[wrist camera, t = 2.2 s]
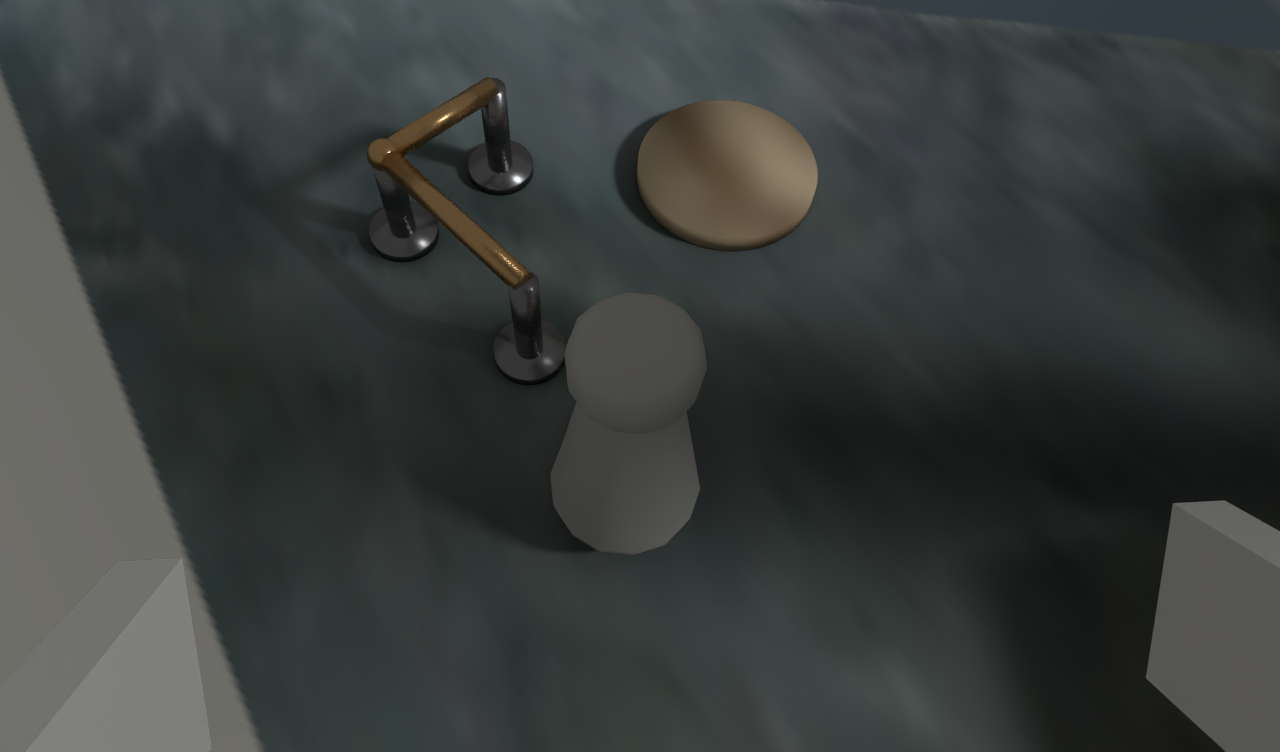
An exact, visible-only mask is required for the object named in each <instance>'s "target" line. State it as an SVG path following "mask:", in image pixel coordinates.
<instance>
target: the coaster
mask: <svg viewBox="0 0 1280 752" xmlns="http://www.w3.org/2000/svg"><path fill="white" fill-rule="evenodd" d="M817 179H818V176H817V166H816V161H815V158H814V155H813V152H812V150H811V149H810V147H809V145H808V143H807V142H806V141H805V139H804V138H803V136H802V135H801V134H800V133H799V132H798V131H797V130H796V129H795V128H794V127H793V126H791V125H790V124H789V123H788V122H787V121H785V120H784V119H782V118H781V117H779V116H777V115H776V114H774V113H772V112H770V111H768V110H765V109H763V108H760V107H758V106H754V105H751V104H747V103H742V102H737V101H727V100H711V101H702V102H697V103H692V104H689V105H686V106H683V107H680V108H678V109H676V110H673V111H671V112H670V113H668V114H667V115H665V116H663V117H662V118H661V119H660V120H658V121H657V122H656V123H655V124H654V125H653V126H652V127H651V128H650V130H649V131H648V133H647V134H646V135H645V137H644V139H643V141H642V143H641V146H640V150H639V154H638V165H637V186H638V190H639V194H640V196H641V199H642V201H643V203H644V205H645V206H646V208H647V210H648V211H649V213H650V214H651V215H652V216H653V217H654V219H655V220H656V221H657V222H658V223H659V224H661V225H662V226H663V227H664V228H665V229H667V230H668V231H669V232H671V233H672V234H674V235H676V236H677V237H679V238H681V239H683V240H685V241H687V242H690V243H692V244H695V245H698V246H701V247H705V248H710V249H715V250H723V251H743V250H751V249H756V248H760V247H764V246H767V245H769V244H772V243H775V242H776V241H778V240H780V239H782V238H784V237H785V236H787V235H788V234H790V233H791V232H792V231H793V230H794V229H795V228H796V227H797V226H799V224H800V223H801V222H802V220H803V219H804V218H805V216H806V214H807V212H808V211H809V208H810V205H811V202H812V199H813V196H814V193H815V190H816V186H817Z"/></svg>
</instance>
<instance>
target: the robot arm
mask: <svg viewBox="0 0 1280 752" xmlns="http://www.w3.org/2000/svg"><path fill="white" fill-rule="evenodd" d="M1146 679H1147V680H1148V681H1149V682H1151V683H1152V684H1153V685H1154V686H1155V687H1156V688H1157V689H1158V690H1159V691H1160V692H1161V693H1162V694H1164V695H1165V696H1166V697H1167V698H1168V699H1169V700H1170V701H1171V702H1172V703H1173V704H1174V705H1176V706H1177V707H1178V708H1179V709H1180V710H1181V711H1182V712H1183V713H1184V714H1185V715H1186V716H1187V717H1189V718H1190V719H1191V720H1192V721H1193V722H1194V723H1195V724H1196V725H1197V726H1198V727H1199V728H1200V729H1202V730H1203V731H1204V732H1205V733H1206V734H1207V735H1208V736H1209V737H1210V738H1211V739H1212V740H1213V741H1215V742H1216V743H1217V744H1218V745H1219V746H1220V747H1221V748H1222V749H1223V750H1224V751H1225V752H1280V531H1278V530H1277V529H1275V528H1273V527H1271V526H1269V525H1268V524H1266V523H1264V522H1262V521H1260V520H1259V519H1257V518H1255V517H1253V516H1252V515H1250V514H1248V513H1246V512H1244V511H1243V510H1241V509H1239V508H1237V507H1235V506H1234V505H1232V504H1230V503H1228V502H1226V501H1225V500H1224V501H1206V502H1188V503H1173V506H1172V512H1171V519H1170V525H1169V532H1168V538H1167V545H1166V551H1165V558H1164V564H1163V571H1162V577H1161V584H1160V590H1159V597H1158V603H1157V609H1156V616H1155V622H1154V629H1153V635H1152V642H1151V648H1150V655H1149V661H1148V668H1147V674H1146ZM211 747H212V746H211V741H210V734H209V727H208V721H207V714H206V708H205V702H204V696H203V689H202V682H201V676H200V669H199V664H198V656H197V650H196V643H195V638H194V631H193V624H192V618H191V612H190V605H189V599H188V592H187V585H186V579H185V573H184V566H183V560H182V558H165V559H149V560H148V559H147V560H129V561H117V562H116V563H115V564H114V565H113V566H112V568H110V570H109V571H108V572H107V573H106V574H105V575H104V576H103V577H102V578H101V579H100V580H99V581H98V582H97V583H96V584H95V586H93V588H92V589H91V590H90V591H89V592H88V593H87V594H86V595H85V596H84V597H83V598H82V599H81V600H80V601H79V602H78V603H77V604H76V605H75V607H74V608H73V609H72V610H71V611H70V612H69V613H68V614H67V615H66V616H65V617H64V618H63V619H62V620H61V621H60V622H59V624H58V625H57V626H56V627H55V628H54V629H53V630H52V631H51V632H50V633H49V634H48V635H47V636H46V637H45V638H44V639H43V640H42V641H41V643H40V644H39V645H38V646H37V647H36V648H35V649H34V650H33V651H32V652H31V653H30V654H29V655H28V656H27V657H26V658H25V660H24V661H23V662H22V663H21V664H20V665H19V666H18V667H17V668H16V669H15V670H14V671H13V672H12V673H11V674H10V675H9V677H8V678H7V679H6V680H5V681H4V682H3V683H2V684H1V685H0V752H210V750H211Z"/></svg>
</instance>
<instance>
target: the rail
mask: <svg viewBox="0 0 1280 752" xmlns="http://www.w3.org/2000/svg"><path fill="white" fill-rule="evenodd" d="M480 108H481V112H482V120H483V127H484V135H485V143H483V144H481V145H480V146H478V147H477V148H476V149H475V150H474V151H473V152H472V153H471V155H470V157H469V160H468V169H469V176H470V179H471V181H472V182H473V184H474V185H475V186H476V187H477V188H479V189H480V190H482V191H484V192H486V193H489V194H493V195H508V194H512V193H515V192H517V191H519V190H521V189H523V188H524V187H525V186H526V185H527V184H528V183H529V182H530V180H531V178H532V175H533V161H532V157H531V155H530V153H529V151H528V150H527V149H526V148H525V147H524V146H522V145H521V144H519V143H517V142H514V141H510V131H509V121H508V110H507V100H506V89H505V84H504V83H503V82H502V81H501V80H499V79H497V78H489V77H486V78H484V79H482V80H481V81H479V82H478V83H476V84H474V85H473V86H471V87H469V88H468V89H466V90H465V91H463V92H461V93H460V94H458V95H456V96H455V97H453V98H452V99H450V100H448V101H447V102H445V103H443V104H442V105H440V106H438V107H437V108H435V109H434V110H432V111H430V112H429V113H427V114H425V115H424V116H422V117H421V118H419V119H417V120H416V121H414V122H412V123H411V124H409V125H408V126H406V127H404V128H403V129H401V130H399V131H398V132H396V133H395V134H393V135H391V136H390V137H388V138H378V139H375V140H374V141H372V142H371V143H370V144H369V146H368V148H367V159H368V162H369V163H370V165H371V166H372V168H373V171H374V175H375V178H376V182H377V185H378V189H379V192H380V196H381V199H382V203H383V206H384V208H382V209H381V210H380V211H378V212H377V213H376V214H375V216H374V217H373V218H372V220H371V222H370V225H369V236H370V239H371V242H372V245H373V247H374V249H375V250H376V251H377V253H378V254H380V255H381V256H382V257H384V258H386V259H389V260H392V261H397V262H407V261H413V260H416V259H419V258H421V257H423V256H425V255H426V254H428V253H429V252H430V251H431V250H432V249H433V248H434V246H435V245H436V243H437V241H438V237H439V229H438V224H437V221H438V222H440V223H441V224H442V225H443V226H444V227H445V228H446V229H447V230H448V231H449V232H450V233H451V234H453V235H454V236H455V237H456V238H457V239H458V240H459V241H460V242H461V243H462V244H463V245H464V246H465V247H467V248H468V249H469V250H470V251H471V252H472V253H473V254H474V255H475V256H476V257H477V258H478V259H480V260H481V261H482V262H483V263H484V264H485V265H486V266H487V267H488V268H489V269H490V270H491V271H493V272H494V273H495V274H496V275H497V276H498V277H499V278H500V279H501V280H502V281H503V282H504V283H505V284H507V285H508V287H509V295H510V303H511V311H512V320H513V321H512V322H510V323H509V324H507V325H506V326H505V327H503V328H502V329H501V330H500V332H499V333H498V334H497V336H496V338H495V341H494V346H493V352H494V359H495V363H496V366H497V368H498V369H499V371H500V372H501V373H502V374H503V375H504V376H505V377H506V378H508V379H509V380H511V381H513V382H516V383H519V384H524V385H534V384H539V383H543V382H545V381H548V380H549V379H551V378H553V377H554V376H555V375H556V374H557V373H558V372H559V371H560V370H561V368H562V367H563V365H564V362H565V350H566V344H565V339H564V337H563V335H562V333H561V332H560V330H559V329H558V328H557V327H556V326H555V325H553V324H552V323H550V322H548V321H546V320H544V319H541V309H540V295H539V281H538V278H537V276H536V275H535V274H534V273H532V272H530V271H528V270H527V269H526V268H525V267H524V266H523V265H522V264H521V263H520V262H519V261H517V260H516V259H515V258H514V257H513V256H512V255H511V254H510V253H509V252H508V251H506V250H505V249H504V248H503V247H502V246H501V245H500V244H499V243H498V242H497V241H495V240H494V239H493V238H492V237H491V236H490V235H489V234H488V233H487V232H486V231H484V230H483V229H482V228H481V227H480V226H479V225H478V224H477V223H476V222H475V221H473V220H472V219H471V218H470V217H469V216H468V215H467V214H466V213H465V212H464V211H462V210H461V209H460V208H459V207H458V206H457V205H456V204H455V203H454V202H453V201H451V200H450V199H449V198H448V197H447V196H446V195H445V194H444V193H443V192H442V191H440V190H439V189H438V188H437V187H436V186H435V185H434V184H433V183H432V182H430V181H429V180H428V179H427V178H426V177H425V176H424V175H423V174H422V173H421V172H419V171H418V170H417V169H416V168H415V167H414V166H413V165H412V164H411V163H410V162H408V161H407V160H406V159H405V158H404V156H406V155H407V154H409V153H410V152H412V151H414V150H415V149H417V148H418V147H420V146H422V145H423V144H425V143H426V142H428V141H430V140H431V139H433V138H434V137H436V136H437V135H439V134H441V133H442V132H444V131H445V130H447V129H449V128H450V127H452V126H453V125H455V124H457V123H458V122H460V121H461V120H463V119H465V118H466V117H468V116H469V115H471V114H472V113H474V112H476V111H477V110H479V109H480ZM408 194H409V195H410V196H411V197H413V198H414V199H415V200H416V201H417V202H418V203H419V204H418V203H414V202H410V200H409V196H408Z"/></svg>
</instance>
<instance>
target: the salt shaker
mask: <svg viewBox="0 0 1280 752" xmlns="http://www.w3.org/2000/svg"><path fill="white" fill-rule="evenodd" d="M565 364H566V374H567V383H568V391H569V392H570V393H571V395H572V396H573V398H574V399H575V400H576V405H575V408H574V411H573V414H572V416H571V419H570V422H569V425H568V428H567V431H566V434H565V437H564V440H563V443H562V445H561V448H560V450H559V453H558V455H557V458H556V460H555V463H554V465H553V468H552V470H551V473H550V476H551V486H552V497H553V505H554V507H555V509H556V511H557V512H558V514H559V515H560V517H561V518H562V520H563V522H564V523H565V525H566V526H567V528H568V529H569V531H570V532H571V534H572V535H573V536H575V537H576V538H578V539H580V540H581V541H583V542H584V543H586V544H588V545H589V546H591V547H593V548H594V549H596V550H597V551H599V552H601V553H612V554H624V555H636V554H639V553H642V552H645V551H649V550H652V549H655V548H658V547H661V546H664V545H666V544H667V543H668V541H669V540H670V539H671V538H672V537H673V536H674V535H675V534H676V533H677V532H678V531H679V530H680V529H681V528H682V527H683V526H684V525H685V524H686V522H687V521H688V520H689V519H690V517H691V514H692V511H693V508H694V506H695V503H696V500H697V497H698V494H699V491H700V485H699V479H698V474H697V468H696V462H695V456H694V451H693V445H692V439H691V433H690V428H689V422H688V416H687V410H688V409H689V408H690V407H691V406H692V405H693V404H694V403H695V401H696V398H697V396H698V393H699V390H700V387H701V384H702V381H703V379H704V376H705V373H706V370H707V360H706V354H705V349H704V344H703V340H702V335H701V330H700V329H699V328H698V326H697V325H696V324H695V323H694V321H693V320H692V319H691V317H690V316H689V315H688V314H687V312H686V311H685V310H684V308H682V307H680V306H678V305H676V304H674V303H672V302H670V301H668V300H666V299H664V298H662V297H660V296H658V295H652V294H643V293H634V292H625V293H622V294H618V295H615V296H612V297H608V298H605V299H601V300H599V301H598V302H597V303H595V304H594V305H593V306H592V307H590V308H589V309H588V310H587V311H585V312H584V313H583V314H582V315H580V316H579V317H578V319H577V321H576V323H575V326H574V328H573V331H572V333H571V336H570V338H569V340H568V343H567V346H566V350H565Z"/></svg>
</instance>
